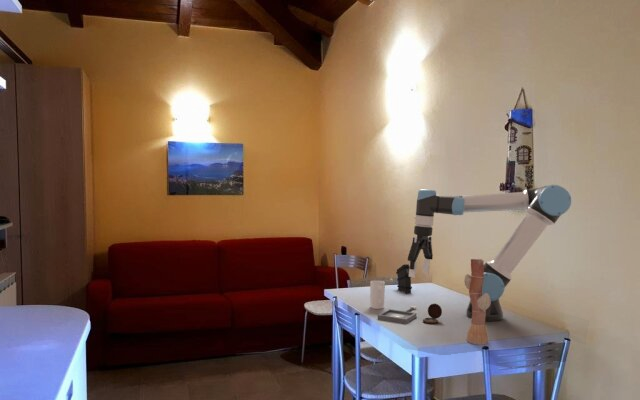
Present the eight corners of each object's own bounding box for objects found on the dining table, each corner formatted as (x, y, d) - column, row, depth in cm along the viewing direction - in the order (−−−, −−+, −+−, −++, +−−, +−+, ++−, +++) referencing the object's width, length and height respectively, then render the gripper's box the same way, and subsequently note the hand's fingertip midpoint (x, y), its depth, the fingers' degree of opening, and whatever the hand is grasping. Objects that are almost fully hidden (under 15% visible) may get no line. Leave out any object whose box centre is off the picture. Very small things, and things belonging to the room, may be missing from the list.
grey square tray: (416, 317, 208) (416, 313, 208) (406, 323, 198) (406, 319, 197) (389, 313, 215) (389, 309, 215) (377, 319, 204) (377, 314, 204)
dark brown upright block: (408, 291, 255) (403, 264, 261) (398, 297, 267) (394, 271, 273) (414, 291, 256) (409, 264, 262) (404, 297, 267) (400, 271, 274)
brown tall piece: (493, 344, 171) (494, 260, 171) (474, 345, 170) (476, 260, 169) (477, 336, 182) (479, 256, 181) (459, 337, 180) (461, 256, 180)
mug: (367, 306, 228) (368, 280, 227) (380, 305, 229) (381, 280, 229) (376, 311, 218) (376, 284, 218) (389, 310, 220) (390, 284, 220)
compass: (420, 322, 200) (420, 305, 200) (428, 319, 206) (429, 302, 206) (438, 326, 195) (438, 308, 195) (446, 322, 201) (446, 305, 201)
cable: (416, 309, 223) (416, 306, 223) (405, 315, 211) (405, 312, 211) (411, 308, 224) (411, 305, 224) (400, 314, 213) (400, 311, 213)
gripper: (427, 224, 217) (422, 271, 217) (402, 225, 196) (397, 276, 197) (443, 226, 212) (438, 274, 213) (419, 227, 192) (414, 280, 193)
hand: (418, 275), depth 205 cm, fingers open, 13 cm apart
